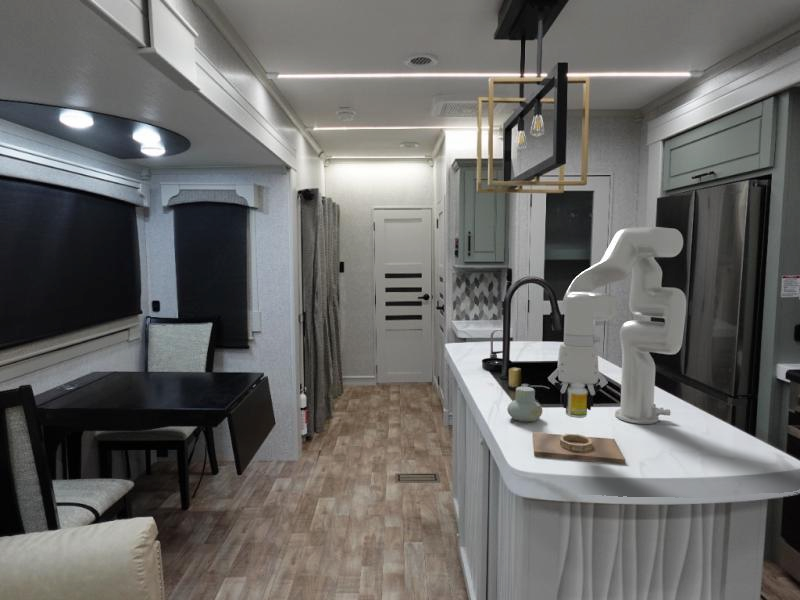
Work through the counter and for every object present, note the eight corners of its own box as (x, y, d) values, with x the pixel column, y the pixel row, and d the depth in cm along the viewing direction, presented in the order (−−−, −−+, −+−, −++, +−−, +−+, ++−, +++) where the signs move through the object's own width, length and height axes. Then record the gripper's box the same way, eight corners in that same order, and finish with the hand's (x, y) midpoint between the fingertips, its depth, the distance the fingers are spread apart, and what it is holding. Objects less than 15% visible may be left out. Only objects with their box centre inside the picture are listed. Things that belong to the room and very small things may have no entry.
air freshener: (525, 426, 148) (525, 394, 148) (503, 419, 155) (504, 389, 154) (545, 418, 155) (546, 388, 154) (524, 412, 162) (524, 383, 161)
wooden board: (614, 442, 135) (614, 433, 135) (625, 463, 121) (625, 453, 121) (532, 436, 140) (532, 427, 140) (534, 455, 127) (534, 445, 126)
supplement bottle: (561, 413, 131) (562, 378, 130) (576, 410, 133) (577, 376, 133) (576, 419, 126) (577, 383, 125) (591, 416, 129) (592, 381, 128)
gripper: (610, 339, 130) (608, 405, 131) (544, 337, 134) (542, 401, 135) (616, 344, 122) (613, 414, 124) (545, 341, 126) (543, 409, 128)
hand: (576, 406), depth 130 cm, fingers closed on supplement bottle, 5 cm apart
